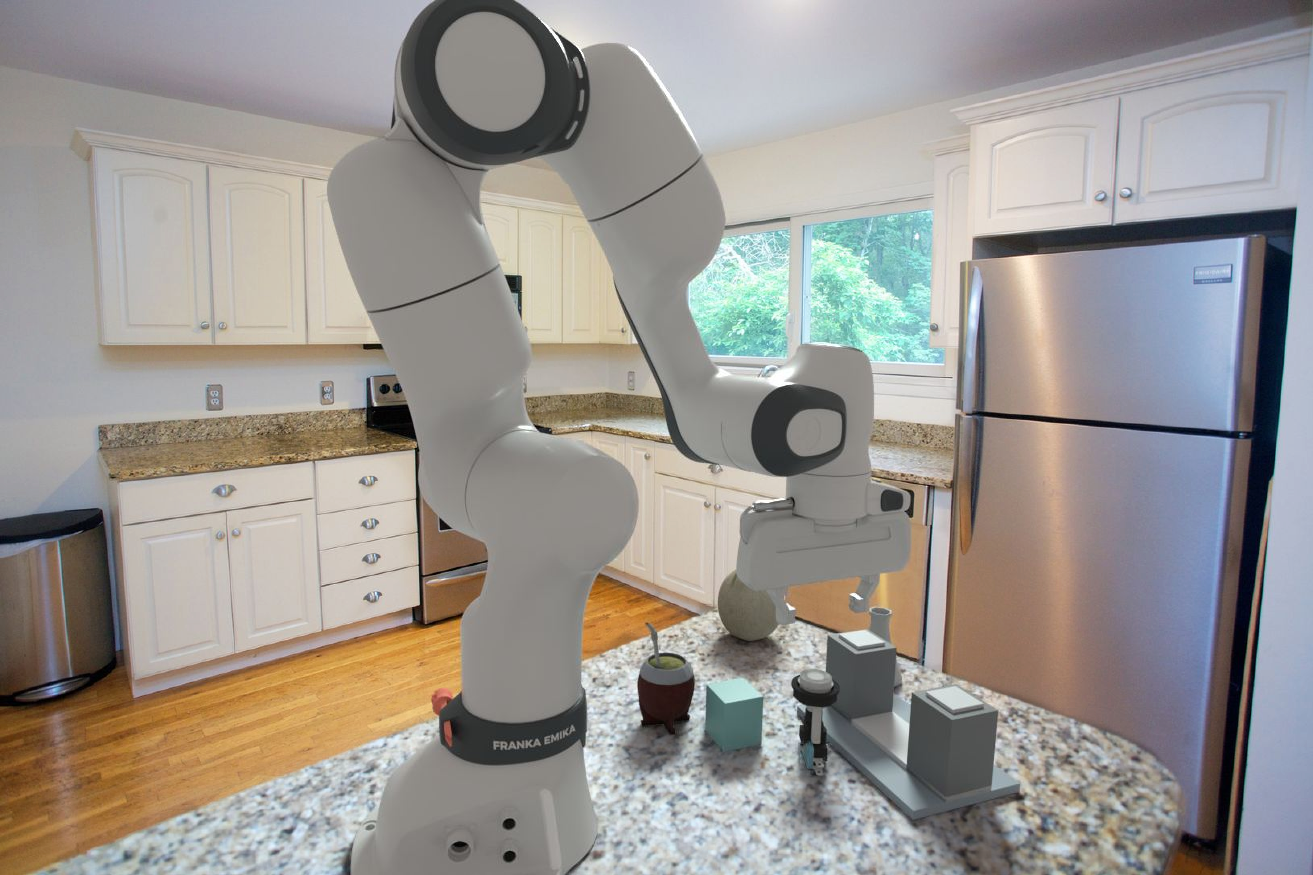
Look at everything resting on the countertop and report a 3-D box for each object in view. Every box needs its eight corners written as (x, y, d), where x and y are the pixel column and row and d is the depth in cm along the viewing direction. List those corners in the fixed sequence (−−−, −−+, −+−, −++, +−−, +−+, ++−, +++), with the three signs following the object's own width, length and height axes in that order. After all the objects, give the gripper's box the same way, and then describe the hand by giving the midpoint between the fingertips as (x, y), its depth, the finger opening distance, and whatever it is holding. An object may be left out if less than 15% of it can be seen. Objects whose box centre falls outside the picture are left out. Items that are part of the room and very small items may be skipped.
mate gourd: (683, 704, 95) (686, 594, 93) (703, 736, 88) (707, 617, 86) (627, 711, 93) (629, 598, 91) (643, 745, 86) (645, 623, 83)
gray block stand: (912, 819, 73) (920, 722, 72) (796, 712, 93) (800, 635, 92) (1019, 791, 78) (1028, 700, 77) (887, 695, 98) (892, 622, 97)
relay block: (763, 696, 86) (761, 743, 86) (743, 677, 90) (741, 722, 91) (725, 703, 84) (723, 752, 85) (706, 683, 88) (705, 730, 89)
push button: (843, 779, 80) (848, 693, 78) (794, 779, 80) (799, 692, 78) (829, 745, 86) (833, 665, 85) (784, 745, 86) (788, 664, 85)
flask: (842, 680, 103) (846, 612, 101) (860, 661, 109) (864, 597, 107) (893, 695, 99) (898, 624, 97) (909, 675, 105) (914, 608, 103)
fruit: (700, 639, 116) (703, 548, 113) (740, 619, 124) (744, 533, 122) (756, 659, 109) (760, 562, 107) (795, 636, 118) (799, 546, 115)
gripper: (755, 509, 72) (752, 642, 74) (923, 493, 79) (916, 614, 81) (727, 495, 78) (725, 618, 80) (886, 481, 85) (880, 595, 87)
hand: (822, 616), depth 81 cm, fingers open, 8 cm apart
